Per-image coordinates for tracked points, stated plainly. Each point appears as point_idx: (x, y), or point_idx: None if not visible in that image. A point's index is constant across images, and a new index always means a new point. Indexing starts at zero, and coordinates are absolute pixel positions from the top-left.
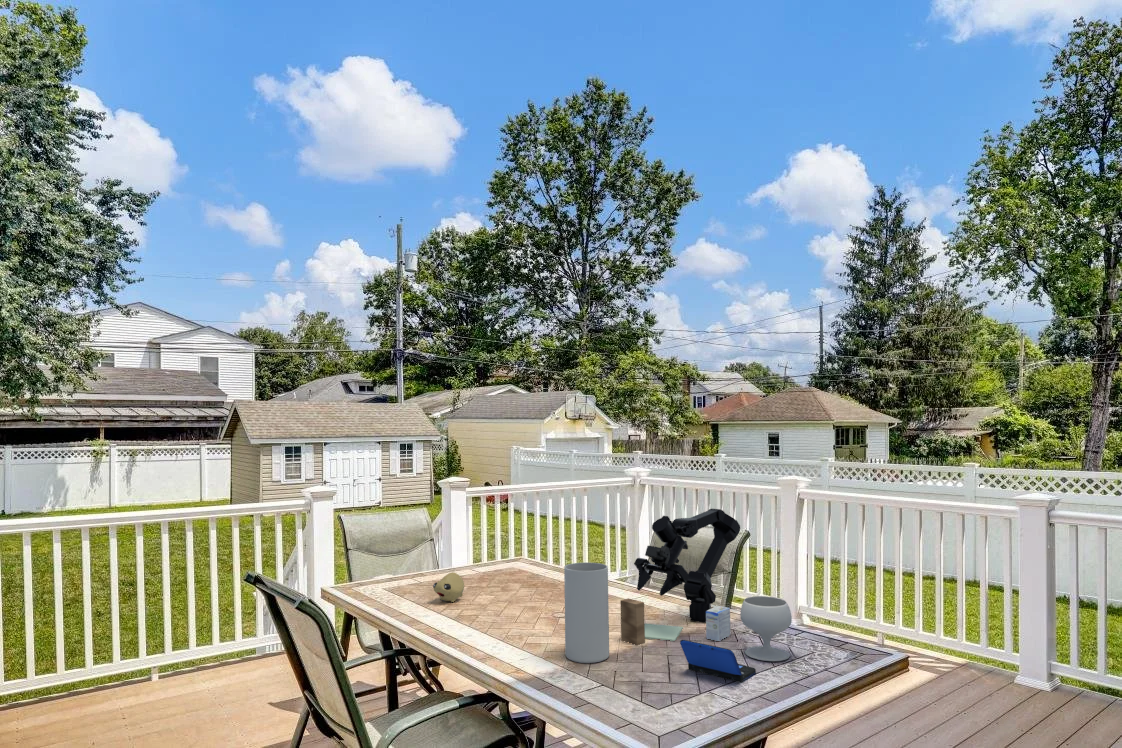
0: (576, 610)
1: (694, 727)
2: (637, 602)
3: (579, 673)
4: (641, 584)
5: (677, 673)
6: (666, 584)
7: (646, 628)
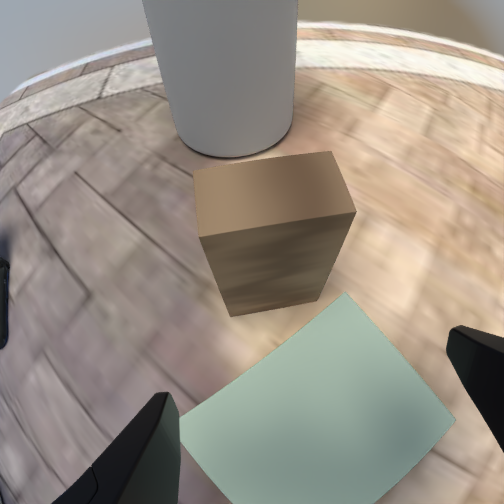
0: None
1: None
2: (222, 198)
3: (163, 84)
4: (483, 376)
5: (17, 226)
6: (93, 469)
7: (367, 424)
